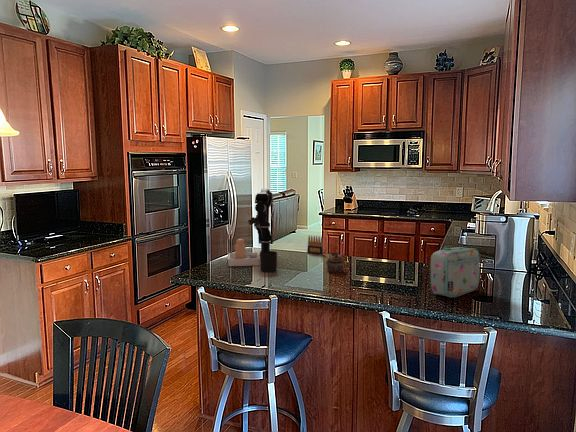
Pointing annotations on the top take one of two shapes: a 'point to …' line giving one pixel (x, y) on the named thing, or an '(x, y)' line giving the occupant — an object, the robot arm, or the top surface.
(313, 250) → the ammunition clip
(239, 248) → the post
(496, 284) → the top surface
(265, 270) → the pen holder
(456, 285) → the lunch box
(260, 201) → the robot arm
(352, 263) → the top surface
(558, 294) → the top surface
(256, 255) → the tray
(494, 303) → the top surface
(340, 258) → the cupcake
